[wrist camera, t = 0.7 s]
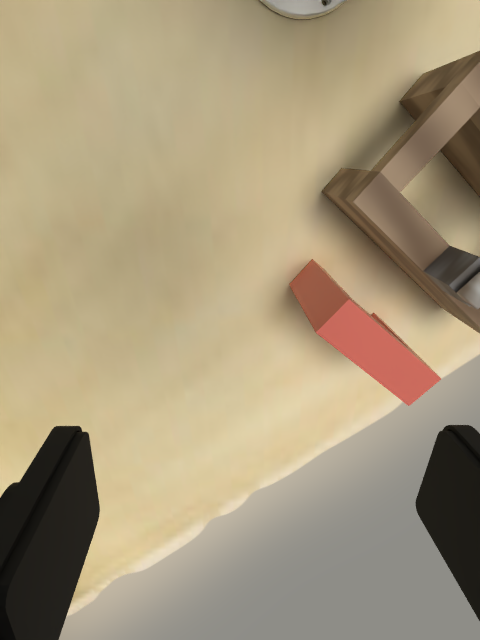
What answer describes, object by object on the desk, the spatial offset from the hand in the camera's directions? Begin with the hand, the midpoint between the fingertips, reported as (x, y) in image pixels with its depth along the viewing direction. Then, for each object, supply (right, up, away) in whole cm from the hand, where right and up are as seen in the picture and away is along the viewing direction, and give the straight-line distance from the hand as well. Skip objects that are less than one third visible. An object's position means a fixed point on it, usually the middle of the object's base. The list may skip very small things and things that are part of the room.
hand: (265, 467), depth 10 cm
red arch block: (+12, +6, +35) cm, 37 cm away
